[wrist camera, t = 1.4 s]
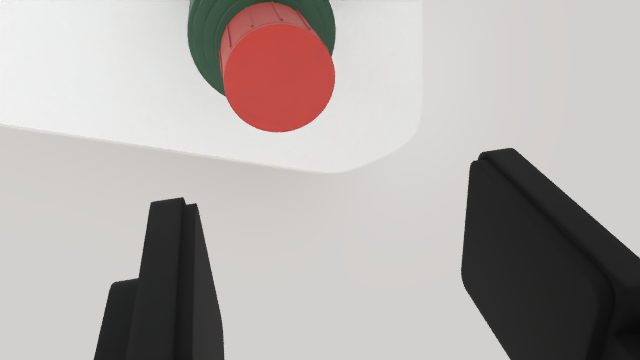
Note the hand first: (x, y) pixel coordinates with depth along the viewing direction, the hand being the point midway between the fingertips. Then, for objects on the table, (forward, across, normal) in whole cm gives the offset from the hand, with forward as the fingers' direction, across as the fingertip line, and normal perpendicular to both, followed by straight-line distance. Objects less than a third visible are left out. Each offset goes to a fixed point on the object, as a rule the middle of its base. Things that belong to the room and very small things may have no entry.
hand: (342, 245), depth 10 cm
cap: (+13, 0, 0) cm, 13 cm away
